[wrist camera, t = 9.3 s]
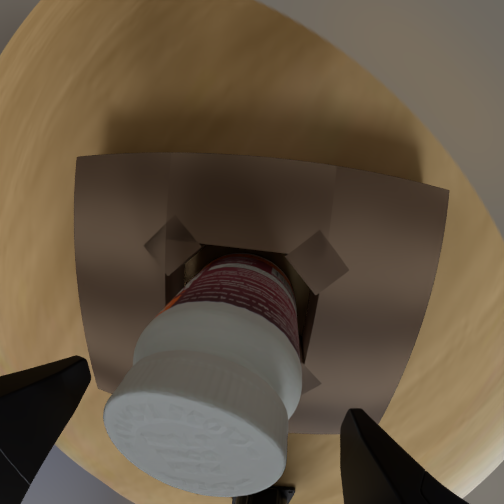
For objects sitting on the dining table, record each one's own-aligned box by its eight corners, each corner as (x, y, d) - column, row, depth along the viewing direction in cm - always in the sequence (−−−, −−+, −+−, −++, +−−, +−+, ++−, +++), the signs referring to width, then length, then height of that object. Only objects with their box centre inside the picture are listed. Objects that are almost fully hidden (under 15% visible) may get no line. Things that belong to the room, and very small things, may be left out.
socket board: (365, 406, 17) (373, 432, 14) (116, 368, 19) (97, 388, 16) (423, 189, 14) (449, 190, 11) (105, 159, 15) (76, 156, 13)
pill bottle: (197, 244, 16) (61, 335, 5) (303, 258, 16) (339, 397, 5) (193, 335, 17) (110, 470, 6) (286, 350, 17) (280, 511, 6)
